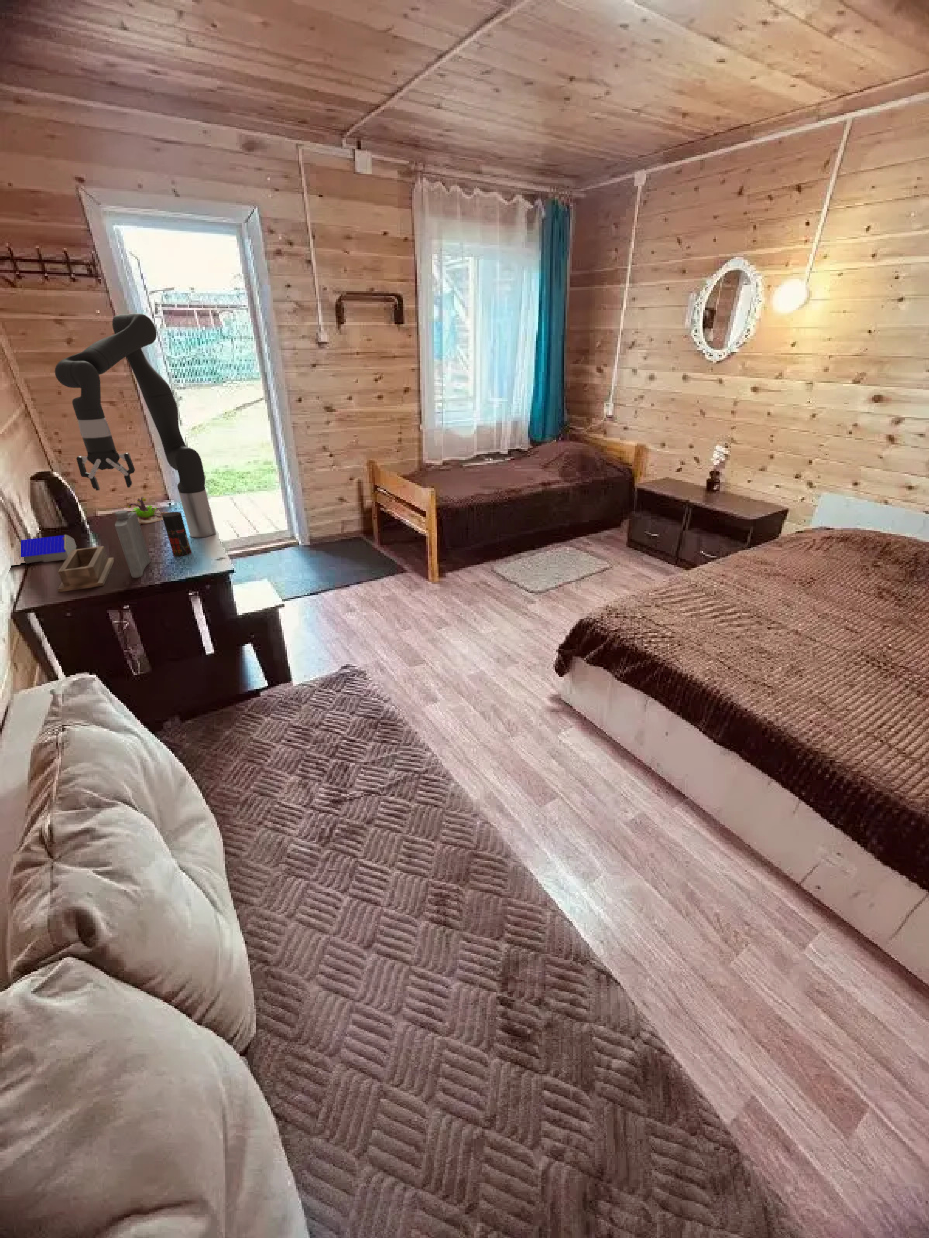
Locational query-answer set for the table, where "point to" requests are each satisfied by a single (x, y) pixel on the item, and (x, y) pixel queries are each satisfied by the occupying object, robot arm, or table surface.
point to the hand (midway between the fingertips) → (113, 488)
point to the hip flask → (132, 542)
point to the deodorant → (176, 534)
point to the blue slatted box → (47, 548)
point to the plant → (146, 513)
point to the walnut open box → (85, 569)
